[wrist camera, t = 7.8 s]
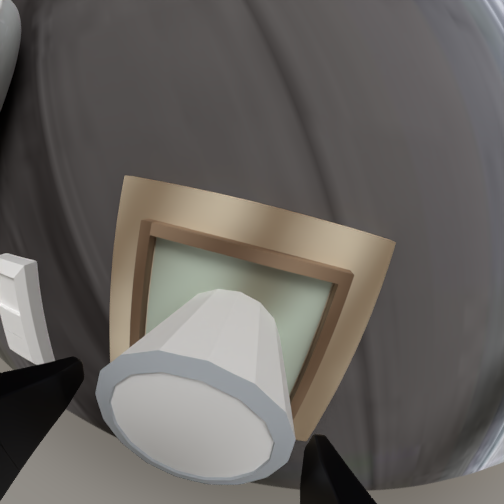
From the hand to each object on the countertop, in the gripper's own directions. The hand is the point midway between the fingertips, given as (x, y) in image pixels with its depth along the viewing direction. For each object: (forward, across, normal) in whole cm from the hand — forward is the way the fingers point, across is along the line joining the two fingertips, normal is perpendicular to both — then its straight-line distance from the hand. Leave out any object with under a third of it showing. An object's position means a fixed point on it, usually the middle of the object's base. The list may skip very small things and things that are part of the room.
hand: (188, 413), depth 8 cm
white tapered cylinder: (+6, 0, 0) cm, 6 cm away
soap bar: (+8, +17, +5) cm, 19 cm away
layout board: (+7, 0, 0) cm, 7 cm away
